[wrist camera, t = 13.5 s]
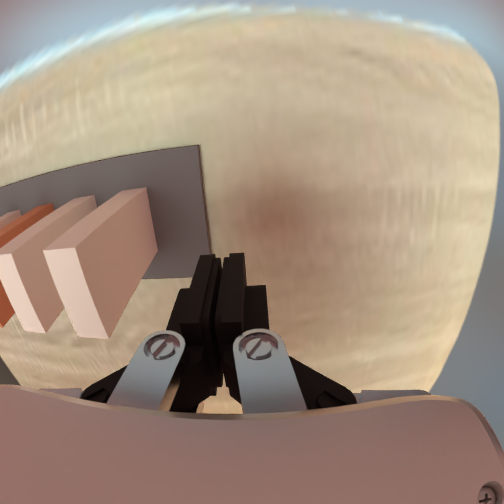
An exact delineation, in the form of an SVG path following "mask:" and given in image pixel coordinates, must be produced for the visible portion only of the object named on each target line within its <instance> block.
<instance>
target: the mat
mask: <svg viewBox="0 0 504 504" xmlns="http://www.w3.org/2000/svg"><path fill="white" fill-rule="evenodd" d="M145 187H147V193H148V199H149V205H150V211H151V217H152V222H153V228H154V233H155V238H156V243H157V248H158V251H157V253H156V255H155V256H154V258H153V260H152V261H151V263H150V265H149V267H148V268H147V270H146V272H145V273H144V275H143V277H142V279H162V278H187V277H193V276H194V273H195V269H196V266H197V263H198V260H199V257H200V255H211V250H210V243H209V235H208V227H207V218H206V210H205V201H204V192H203V183H202V173H201V163H200V152H199V145H193V146H184V147H176V148H169V149H162V150H155V151H148V152H142V153H136V154H130V155H125V156H119V157H114V158H109V159H104V160H99V161H95V162H90V163H86V164H81V165H77V166H73V167H69V168H65V169H61V170H57V171H53V172H49V173H46V174H42V175H39V176H35V177H32V178H29V179H25V180H22V181H19V182H16V183H13V184H10V185H7V186H4V187H1V188H0V217H1V216H3V215H4V214H6V213H8V212H12V211H16V210H20V213H21V216H22V215H24V214H25V213H27V212H28V211H30V210H32V209H33V208H35V207H37V206H41V205H46V204H51V203H53V207H54V211H55V210H56V209H58V208H60V207H61V206H63V205H64V204H66V203H68V202H69V201H71V200H73V199H74V198H79V197H85V196H91V195H94V196H95V201H96V205H97V208H98V207H99V206H101V205H102V204H103V203H105V202H106V201H108V200H109V199H111V198H112V197H113V196H115V195H116V194H118V193H119V192H121V191H123V190H130V189H137V188H145Z"/></svg>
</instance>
